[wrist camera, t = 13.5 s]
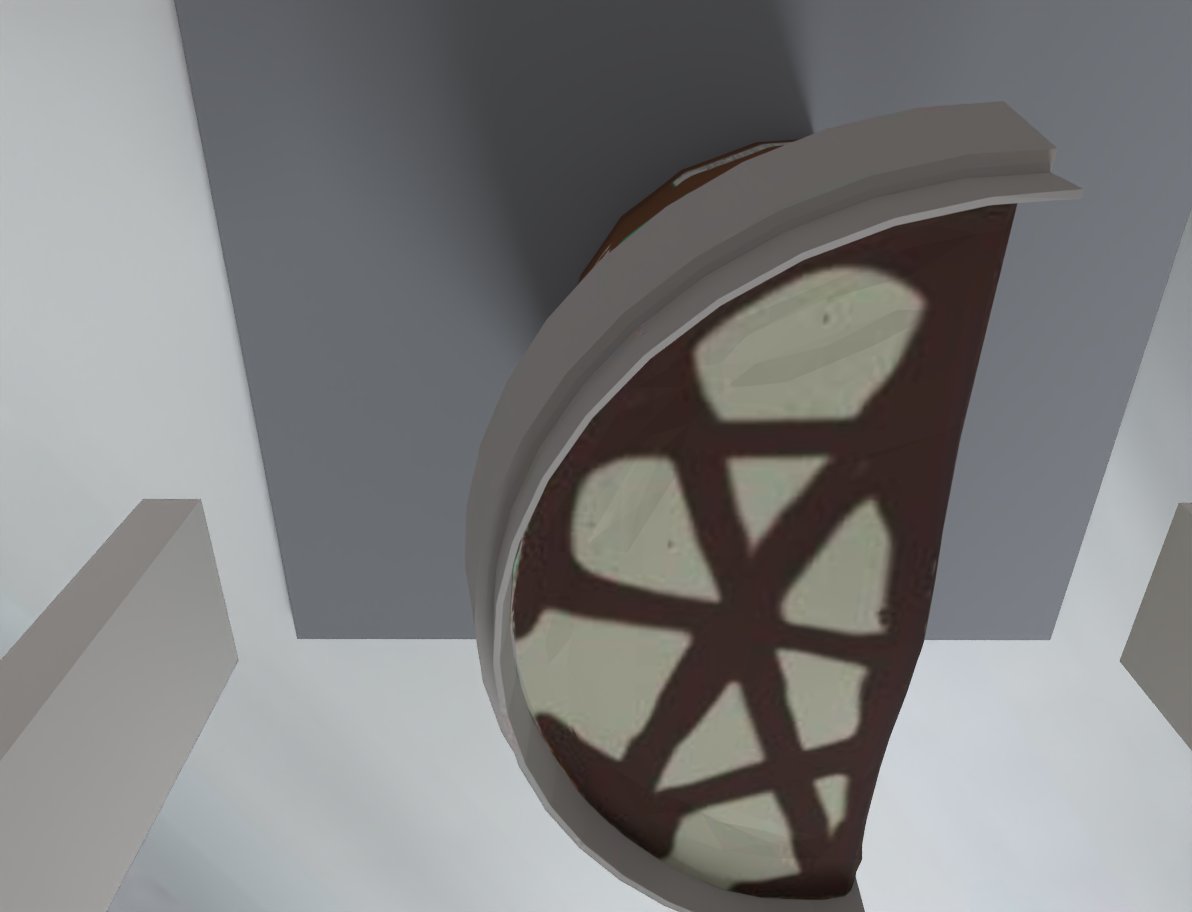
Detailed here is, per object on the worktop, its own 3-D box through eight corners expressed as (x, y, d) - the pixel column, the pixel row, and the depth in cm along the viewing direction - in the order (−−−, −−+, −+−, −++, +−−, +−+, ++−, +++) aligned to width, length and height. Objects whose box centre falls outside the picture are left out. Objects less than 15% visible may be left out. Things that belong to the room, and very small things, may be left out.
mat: (1041, 627, 24) (1050, 639, 23) (302, 626, 23) (297, 638, 23) (1257, -54, 16) (1277, -55, 16) (173, -67, 16) (161, -69, 15)
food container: (500, 47, 16) (399, 113, 8) (826, 54, 16) (1102, 127, 8) (515, 581, 22) (468, 972, 13) (756, 584, 22) (868, 973, 13)
